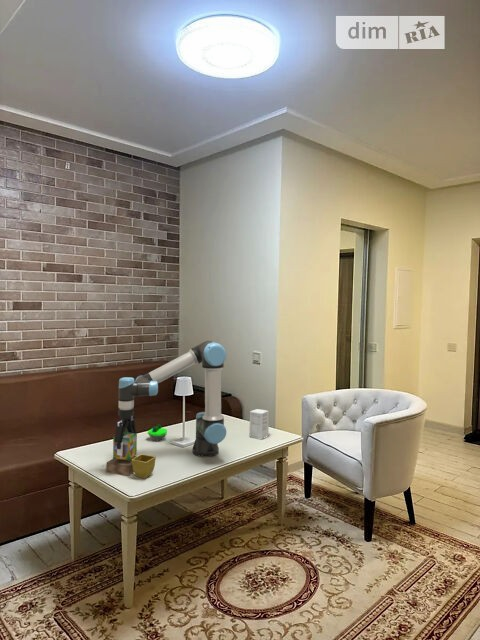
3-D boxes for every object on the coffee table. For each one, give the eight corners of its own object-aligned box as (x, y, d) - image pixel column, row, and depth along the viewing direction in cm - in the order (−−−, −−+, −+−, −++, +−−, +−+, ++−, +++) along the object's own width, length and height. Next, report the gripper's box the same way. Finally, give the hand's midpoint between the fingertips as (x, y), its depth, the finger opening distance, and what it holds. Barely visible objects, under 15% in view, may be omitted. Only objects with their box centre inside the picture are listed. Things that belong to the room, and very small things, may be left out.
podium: (142, 466, 230) (142, 457, 230) (129, 475, 217) (129, 465, 217) (120, 463, 234) (121, 453, 234) (106, 472, 221) (106, 462, 221)
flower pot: (130, 477, 216) (131, 459, 215) (140, 471, 224) (141, 453, 223) (146, 480, 213) (146, 462, 212) (155, 474, 221) (156, 456, 220)
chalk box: (129, 461, 220) (129, 431, 219) (112, 459, 222) (112, 430, 221) (137, 454, 229) (137, 426, 228) (120, 452, 231) (121, 424, 230)
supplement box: (268, 436, 287) (269, 410, 287) (261, 439, 280) (262, 413, 279) (256, 433, 293) (256, 408, 292) (248, 437, 285) (249, 411, 284)
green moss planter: (163, 443, 268) (163, 425, 267) (144, 441, 270) (145, 423, 269) (169, 437, 279) (170, 420, 279) (152, 435, 281) (152, 418, 281)
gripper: (131, 402, 236) (130, 444, 237) (106, 412, 215) (106, 458, 216) (143, 404, 234) (142, 446, 235) (120, 414, 213) (119, 460, 214)
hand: (125, 451), depth 225 cm, fingers closed on chalk box, 9 cm apart
